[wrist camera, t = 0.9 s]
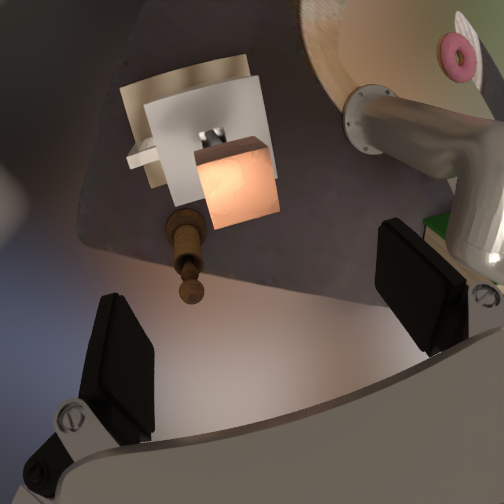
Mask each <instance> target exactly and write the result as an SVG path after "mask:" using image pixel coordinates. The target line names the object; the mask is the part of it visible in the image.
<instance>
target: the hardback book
mask: <svg viewBox="0 0 504 504" xmlns="http://www.w3.org/2000/svg"><path fill="white" fill-rule="evenodd" d="M450 213H451V212H448V213H445V214H441V215H437V216H434V217H430V218H426V219H423V223H424V224H425V225H426V231H425V237H424V240H425V241H426V242H427V243H428V244H429V245H430V246H431V247H432V248H434V249H435V250H436V251H437V252H438V253H439V254H440V255H441V256H442V257H443V258H444V259H446V260H447V261H448V262H449V263H450V264H451V265H452V266H453V267H454V268H455V269H456V270H457V271H458V272H459V273H460V274H461V275H462V276H463V277H464V278H465V279H466V280H467V282H466V284H467V286H468V287H470V285H471V284H473V283H474V282H478V281H486V282H489V283H492V284H493V285H495V286H496V287H498V288H499V289H500V291H501V292H502V293H503V296H504V286H503V285H501V284H498V283H496V282H494V281H492V280H490V279H488V278H485V277H483V276H481V275H479V274H477V273H475V272H473V271H471V270H469V269H467V268H465V267H464V266H462V265H461V264H459V263H458V262H457V261H456V260H454V259H453V257H452V256H451V255H450V254H449V252H448V250H447V247H446V242H445V237H446V230H447V226H448V222H449V217H450Z"/></svg>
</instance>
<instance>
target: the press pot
mask: <svg viewBox="0 0 504 504" xmlns="http://www.w3.org/2000/svg"><path fill="white" fill-rule="evenodd" d="M144 108H145V112H146V115H147V119H148V122H149V126H150V129H151V132H152V136H149V137H146V138H143V139H140V140H137V142H136V143H135V145H134V146H133V148H132V149H131V151H130V152H129V154H128V156H127V157H126V158H127V161H128V164H129V166H130V169H133V168H136V167H139V166H142V165H144V164H147V163H150V162H153V161H156V160H160V161H161V165H162V168H163V171H164V174H165V177H166V180H167V183H168V186H169V189H170V192H171V195H172V198H173V201H174V204H175V207H176V206H180V205H183V204H186V203H189V202H193V201H196V200H199V199H203V198H205V195H204V191H203V188H202V184H201V181H200V177H199V174H198V170H197V167H196V162H195V157H194V152H193V151H196V150H200V149H203V147H202V143H201V139H200V135H199V133H201V132H205V131H209V130H212V129H216V128H220V127H223V131H224V135H225V139H226V142H229V141H233V140H237V139H241V138H246V137H250V136H255V137H257V138H258V139H259V140H261V141H262V142H263V143H264V144H266V145H267V146H268V147H269V151H270V156H271V162H272V167H273V173H274V178H275V179H276V178H278V177H277V172H276V166H275V160H274V155H273V149H272V144H271V139H270V133H269V128H268V123H267V117H266V112H265V107H264V102H263V97H262V92H261V87H260V82H259V77H258V75H256V76H235V77H229V78H224V79H220V80H215V81H211V82H207V83H203V84H199V85H195V86H192V87H188V88H184V89H181V90H177V91H174V92H170V93H167V94H164V95H160V96H157V97H155V98H153V99H152V100H150V101H149V102H147V103H146V104H144Z"/></svg>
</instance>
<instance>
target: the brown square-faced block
mask: <svg viewBox="0 0 504 504" xmlns="http://www.w3.org/2000/svg"><path fill="white" fill-rule="evenodd" d="M199 135H200V139H201V143H202V147H203V149H200V150H196V151H193V152H194V157H195V162H196V167H197V170H198V174H199V177H200V181H201V184H202V188H203V191H204V195H205V198H206V202H207V205H208V208H209V212H210V215H211V219H212V222H213V225H214V229H215V230H216V229H219V228H222V227H226V226H229V225H233V224H236V223H240V222H243V221H247V220H250V219H254V218H257V217H261V216H265V215H268V214H272V213H275V212H279V211H280V207H279V201H278V195H277V190H276V184H275V178H274V173H273V167H272V162H271V156H270V151H269V147H268V146H267V145H266V144H264V143H263V142H262V141H261V140H259V139H258V138H257V137H255V136H250V137H246V138H241V139H237V140H233V141H229V142H226V139H225V135H224V131H223V127H220V128H216V129H212V130H209V131H205V132H201V133H199Z"/></svg>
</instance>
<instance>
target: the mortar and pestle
mask: <svg viewBox="0 0 504 504" xmlns="http://www.w3.org/2000/svg"><path fill="white" fill-rule="evenodd" d="M206 234H207V231H206V224H205V221H204V219H203V217H202V216H201V215H200V214H199V213H198V212H196V211H194V210H190V209H183V210H179V211H177V212H175V213H174V214H173V215H172V216H171V217H170V218H169V220H168V222H167V226H166V237H167V240H168V242H169V244H170V245H171V246H172V247H173V248H174V268H175V270H176V271H177V273H178V274H180V275H181V279H182V280H183V281H184V282H183V283H182V284H181V286H180V288H179V294H180V297H181V299H182V300H183V301H184V302H185V303H187V304H196V303H198V302H200V301H201V300H202V298H203V296H204V287H203V285H202V284H201V282H199V281H198V280H197V279H198V276H199V273H200V272H201V271H202V269H203V259H202V253H201V245H202V244H203V243H204V241H205V239H206Z"/></svg>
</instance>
